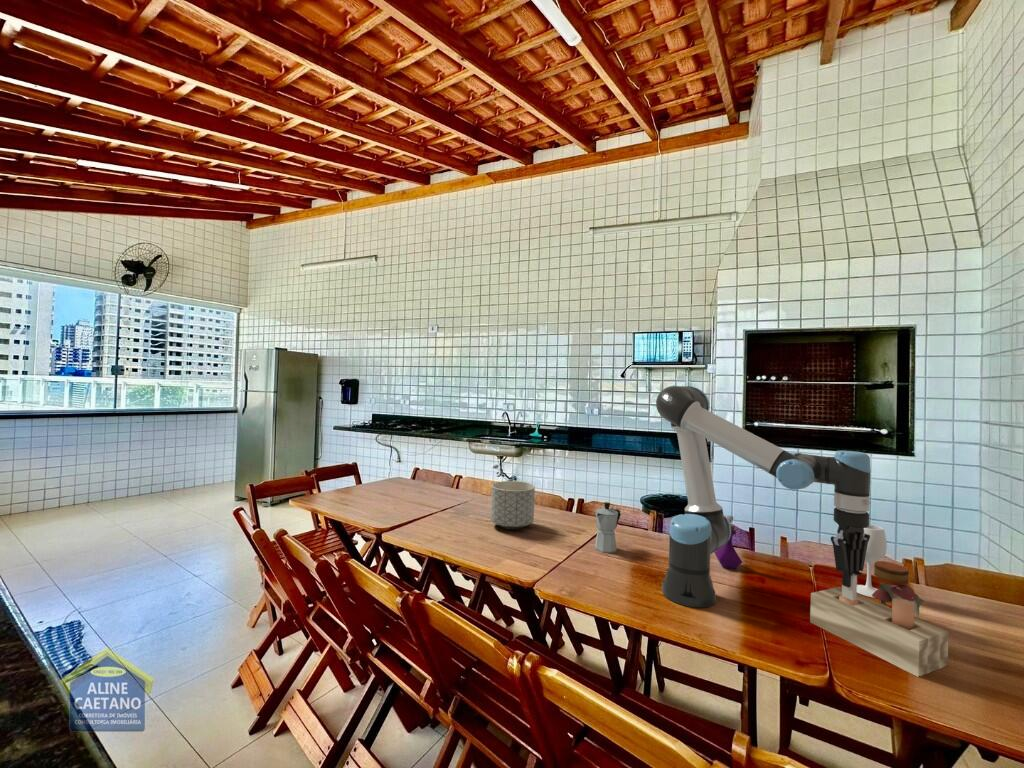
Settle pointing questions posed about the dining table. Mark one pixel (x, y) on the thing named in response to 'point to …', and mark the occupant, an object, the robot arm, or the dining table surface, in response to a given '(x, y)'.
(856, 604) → the rear peg
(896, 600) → the front peg
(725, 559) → the perfume bottle
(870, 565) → the wineglass
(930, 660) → the socket block
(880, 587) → the toy burger
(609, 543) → the coffee maker
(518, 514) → the planter
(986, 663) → the dining table surface
